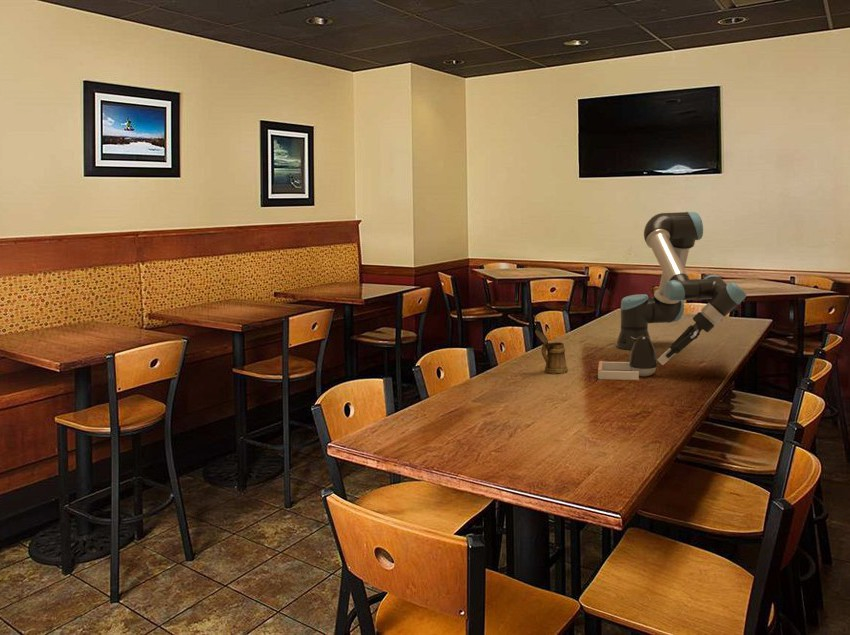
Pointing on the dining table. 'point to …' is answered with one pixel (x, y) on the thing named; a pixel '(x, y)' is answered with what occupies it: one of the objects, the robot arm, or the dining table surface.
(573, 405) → the dining table surface
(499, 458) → the dining table surface
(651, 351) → the black tall rounded piece
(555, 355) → the wooden mug
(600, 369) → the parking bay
